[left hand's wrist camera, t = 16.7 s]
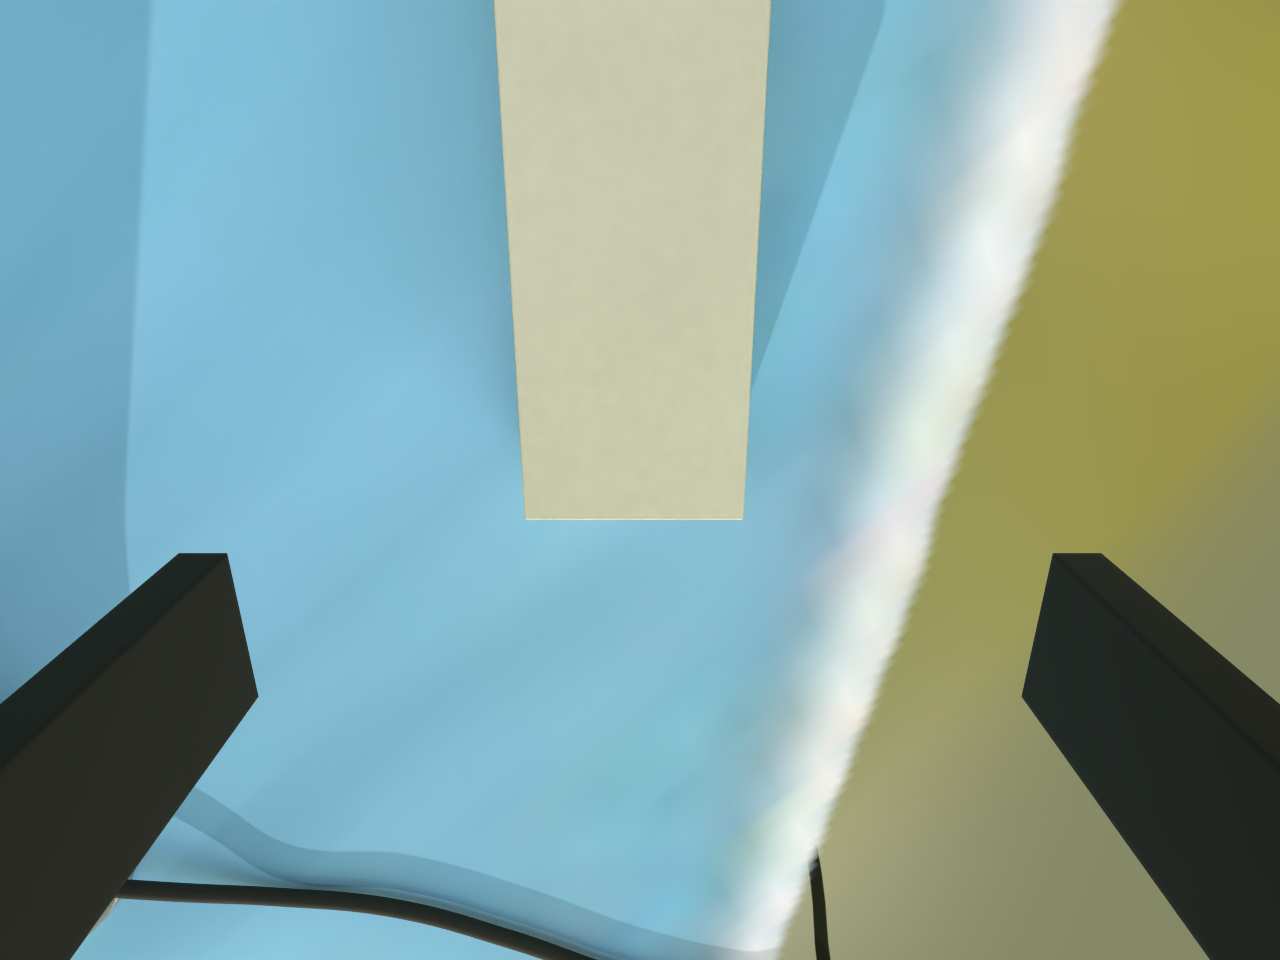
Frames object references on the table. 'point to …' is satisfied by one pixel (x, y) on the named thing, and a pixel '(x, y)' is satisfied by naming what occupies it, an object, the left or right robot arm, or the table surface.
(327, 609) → the table surface
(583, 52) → the beige rectangular bar
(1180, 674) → the left robot arm
